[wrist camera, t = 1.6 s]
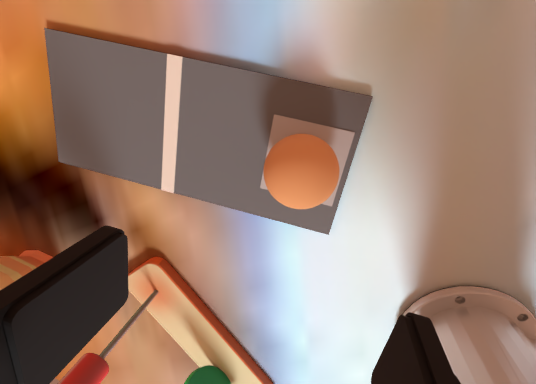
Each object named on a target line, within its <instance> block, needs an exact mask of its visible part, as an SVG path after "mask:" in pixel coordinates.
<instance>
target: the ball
mask: <svg viewBox="0 0 536 384" xmlns="http://www.w3.org/2000/svg"><path fill="white" fill-rule="evenodd" d="M339 172H340V171H339V163H338V159H337V156H336V154H335V152H334V151H333V149H332V148H331V147H330V146H329V145H328V144H327V143H326V142H325V141H324V140H322V139H320V138H318V137H316V136H313V135H310V134H294V135H290V136H287V137H285V138H283V139H281V140H280V141H279V142H277V143H276V144H275V145H274V146H273V147H272V148H271V150H270V151H269V153H268V155H267V157H266V159H265V163H264V180H265V184H266V186H267V189H268V190H269V192H270V194H271V195H272V196H273V197H274V198H275V199H276V200H277V201H278V202H279V203H281V204H283V205H285V206H287V207H290V208H294V209H309V208H313V207H315V206H318V205H320V204H321V203H323V202H324V201H326V200H327V199H328V198H329V197H330V196H331V194H332V193H333V192H334V190H335V188H336V186H337V183H338V180H339Z"/></svg>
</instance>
